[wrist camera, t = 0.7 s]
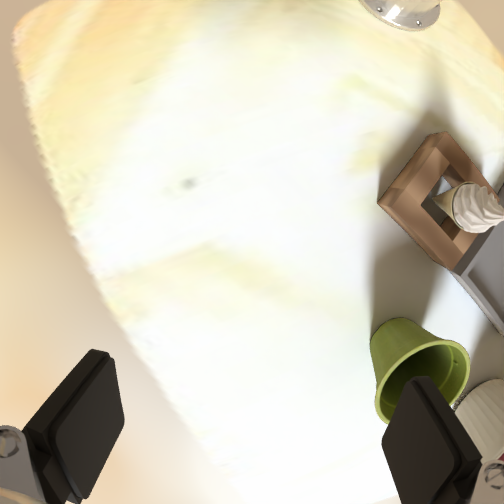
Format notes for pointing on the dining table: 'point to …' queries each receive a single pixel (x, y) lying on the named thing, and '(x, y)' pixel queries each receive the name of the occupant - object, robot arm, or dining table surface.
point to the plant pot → (414, 363)
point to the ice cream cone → (471, 207)
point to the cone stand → (418, 187)
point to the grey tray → (485, 271)
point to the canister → (485, 418)
